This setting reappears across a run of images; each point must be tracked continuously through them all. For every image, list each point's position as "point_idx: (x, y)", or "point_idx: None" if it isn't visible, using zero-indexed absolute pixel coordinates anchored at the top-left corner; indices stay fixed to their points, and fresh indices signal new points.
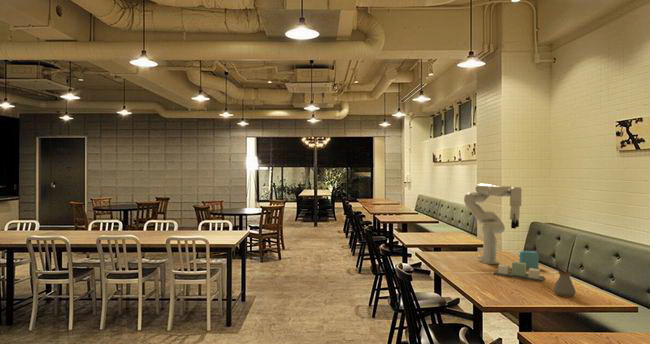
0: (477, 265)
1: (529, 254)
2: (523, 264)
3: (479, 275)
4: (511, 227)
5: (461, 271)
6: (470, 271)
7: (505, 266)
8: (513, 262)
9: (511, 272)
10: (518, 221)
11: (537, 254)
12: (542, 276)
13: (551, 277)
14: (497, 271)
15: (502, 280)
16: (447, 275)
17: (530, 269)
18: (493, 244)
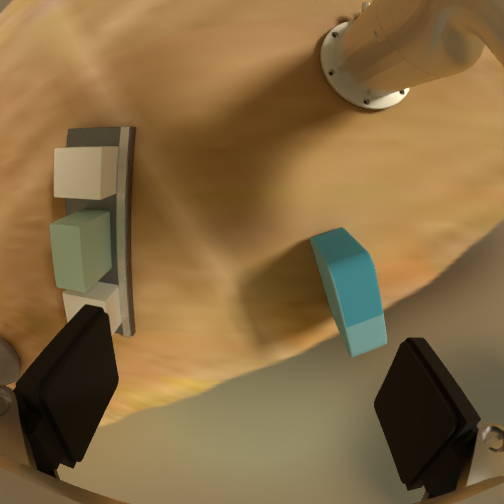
0: (241, 12)
1: (337, 310)
2: (56, 280)
3: (35, 86)
4: (81, 314)
5: (70, 6)
6: (84, 29)
7: (57, 185)
8: (59, 230)
9: (117, 202)
10: (427, 484)
11: (347, 350)
12: (123, 330)
13: (176, 355)
14: (101, 136)
15: (13, 186)
16: (5, 13)
17: (75, 301)
18: (387, 48)
